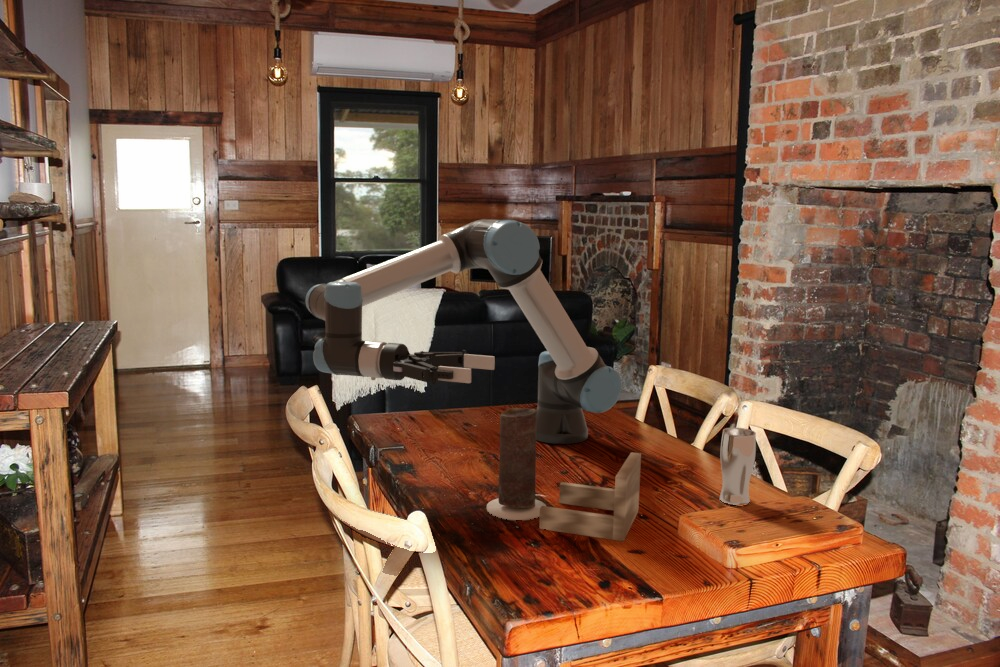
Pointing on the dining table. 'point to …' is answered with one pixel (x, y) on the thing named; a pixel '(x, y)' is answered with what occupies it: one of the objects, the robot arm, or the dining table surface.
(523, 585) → the dining table surface
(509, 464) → the candle
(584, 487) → the shelf
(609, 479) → the dining table surface
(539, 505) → the coaster
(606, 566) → the dining table surface
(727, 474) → the beer glass
